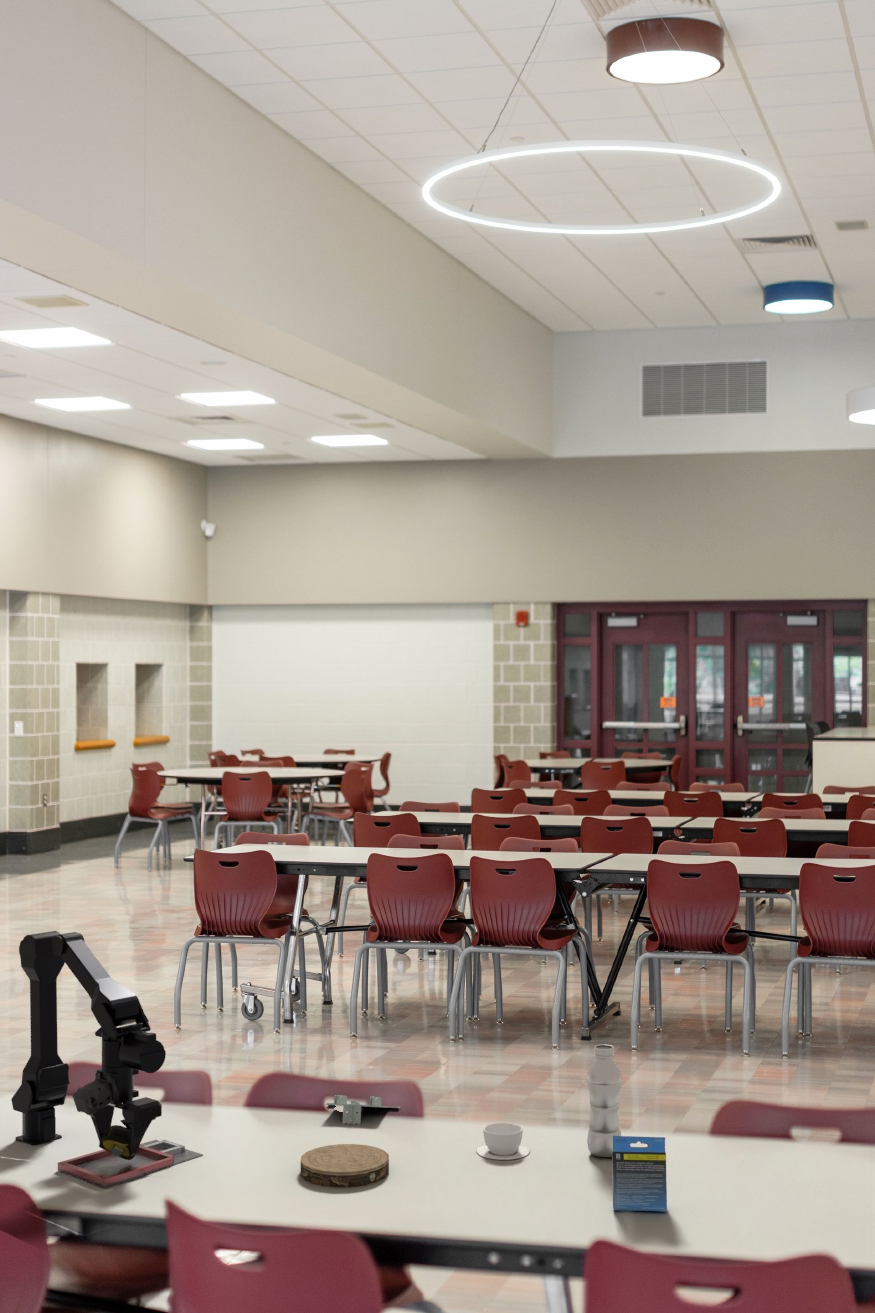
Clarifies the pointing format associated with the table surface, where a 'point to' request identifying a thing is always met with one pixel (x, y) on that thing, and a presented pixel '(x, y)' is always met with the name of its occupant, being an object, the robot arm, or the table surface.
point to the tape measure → (116, 1142)
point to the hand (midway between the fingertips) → (117, 1150)
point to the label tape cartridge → (639, 1174)
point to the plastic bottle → (603, 1101)
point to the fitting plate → (126, 1163)
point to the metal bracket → (355, 1108)
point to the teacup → (503, 1141)
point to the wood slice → (344, 1166)
